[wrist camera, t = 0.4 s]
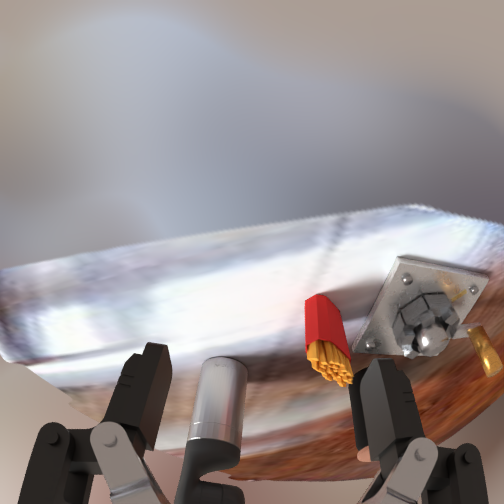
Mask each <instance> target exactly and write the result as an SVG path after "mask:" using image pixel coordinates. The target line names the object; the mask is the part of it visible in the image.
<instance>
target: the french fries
mask: <svg viewBox="0 0 504 504" xmlns="http://www.w3.org/2000/svg"><path fill="white" fill-rule="evenodd" d="M305 340H306V353H307V359H308V360H309V361H311V363H312V368H313V369H315V370H316V371H318V372H321V373H322V376H323V377H325V379H327V380H330V381H332V377H333V380H336V381H337V383H338V384H339V385H340V386H342V387H346V382H347V383H349V384H353V383H352V380H353V379H352V377H354V376H353V372H352V369H351V365H350V362H351V357H350V353H349V348H348V344H347V340H346V335H345V331H344V327H343V323H342V319H341V315H340V311H339V310H338V309H337V307H336V306H335V305H334V304H333V303H332V302H331V301H330V300H329V299H328V298H327V297H326V296H324V295H317V294H316V295H314V296H312V297H311V298H309V299H307V300H305Z"/></svg>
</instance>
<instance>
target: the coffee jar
mask: <svg viewBox="0 0 504 504" xmlns="http://www.w3.org/2000/svg"><path fill="white" fill-rule="evenodd" d="M367 369H368V367H367V368H365V369H363V370H361V371H359V372H358V373H356V374H355V375H354V377H352V379H353V380H352V383H353V384H349V394H350V401H351V408H352V416H353V423H354V431H355V440H356V447H357V449H358V450H359V452H358V454H357V457H358V460H360V461H364V462H371V460H370V453H369V445H368V438H367V432H366V425H365V419H364V412H363V406H362V401H361V395H360V384H361V380H362V378H363V376H364V375H365V373H366V371H367ZM372 462H374V461H372Z"/></svg>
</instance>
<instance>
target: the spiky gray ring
mask: <svg viewBox="0 0 504 504" xmlns="http://www.w3.org/2000/svg"><path fill="white" fill-rule="evenodd" d="M437 316H441V319H440V321H441V323H442V325H443V328H444V330H445V332H446V334H447V336H448V339H449V338H451V337H452V339H457V338H465V337H469V338H470V340H471V342H472V344H473V346H474V348H475V351H476V353H477V355H478V357H479V359H480V361H481V364H482V366H483V368H484V370H485V373H486V375H487V377H492V376H494V375H496V374H497V373H498V372H500V370H501V369H502V368H503V365H502V363H501V361H500V359H499V357H498V355H497V353H496V351H495V349H494V347H493V345H492V343H491V341H490V339H489V337H488V335H487V333H486V331H485V329H484V328H483V326H481V324H480V322H479V323H470V324H462V325H458V323H459V322H460V318H459V316H458V314H457V313H456V311H455V309H454V307H453V305H452V304H451V302H450V300H449V299H448V297H447V295H445V294H437V295H424V296H423V297H422V296H421V297H419V298H418V299H417V300H415V301H414V302H412V303H411V304H409V305H408V306H406V307H405V308H404V309H402V310H401V312H399V314H398V317H397V319H396V322H395V325H394V327H393V334H394V337H395V340H396V343H397V345H398V346H399V347H400V348H401V349H402V350H403V352H404V355H405V357H408V358H410V359H414V358H415V357H416V356H417V355H418V354H420V353H422V352H421V350H420V347H419V344H418V342H417V339H416V336H415V333H414V331H413V328H414V327H415V326H417V325H418V324H420V323H421V324H422V327H423V328H425V327H427V326H429V325H431V324H433V323H435V317H437ZM433 356H434V355H433ZM429 357H432V356H429Z"/></svg>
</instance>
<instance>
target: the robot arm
mask: <svg viewBox="0 0 504 504" xmlns="http://www.w3.org/2000/svg"><path fill="white" fill-rule="evenodd" d="M247 375H248V371H247V369H246V367H245V366H244V365H243V364H242V363H240V362H238V361H236V360H234V359H230V358H224V357H216V358H211V359H208V360H206V361H205V362H204V363H203V365H202V368H201V373H200V378H199V382H198V387H197V392H196V397H195V402H194V407H193V412H192V417H191V423H190V428H189V433H188V439H187V443H186V449H185V456H184V462H183V467H182V472H181V476H180V480H179V484H178V488H177V492H176V496H175V500H174V504H245V498H244V494H243V491H242V490H241V489H240V488H238V487H236V486H232V485H225V484H219V483H211V482H206V481H200V479H199V478H200V477H201V476H203V475H205V474H207V473H209V472H213V471H218V470H225V469H230V468H233V467H235V466H236V465H237V464H238V463H239V461H240V452H241V440H242V429H243V418H244V407H245V397H246V387H247ZM171 380H172V364H171V360H170V355H169V350H168V346H167V345H164V344H158V343H151V342H148V343H147V344H146V346H145V349H144V351H143V354H142V355H141V354H135V353H134V354H133V355H132V356H131V357H130V358H129V359H128V360H127V361H126V362H125V364H124V367H123V369H122V372H121V376H120V377H119V379H118V382H117V385H116V387H115V390H114V392H113V395H112V398H111V400H110V403H109V406H108V408H107V411H106V414H105V416H104V418H103V420H102V421H101V422H100V423H99V424H98V425H97V426H95V427H93V428H90V429H66V428H65V427H64V426H63V425H61V424H59V423H55V422H52V423H47V424H45V425H44V426H43V427H42V428H41V429H40V431H39V433H38V436H37V439H36V442H35V445H34V448H33V451H32V454H31V457H30V460H29V463H28V467H27V470H26V474H25V478H24V481H23V485H22V488H21V492H20V496H19V500H18V504H88V502H89V497H90V492H91V487H92V482H93V478H94V475H98V474H99V475H104V478H105V480H106V482H107V484H108V486H109V489H110V492H111V494H110V499H111V502H112V504H170V503H169V501H168V500H167V498H166V497H165V495H164V494H163V492H162V490H161V489H160V487H159V485H158V483H157V482H156V480H155V478H154V476H153V474H152V473H151V471H150V469H149V467H148V465H147V463H146V461H145V459H144V453H145V449H146V450H150V451H153V450H154V446H155V442H156V438H157V434H158V430H159V426H160V422H161V418H162V414H163V410H164V406H165V403H166V399H167V395H168V391H169V388H170V384H171ZM412 392H413V391H412V387H411V384H410V380H409V379H408V378H407V376H406V375H405V374H404V372H403V371H397V370H396V366H395V363H394V360H393V359H392V358H375V359H373V360H372V362H371V364H370V365H369V367H368V369H367V371H366V373H365V375H364V376H363V378H362V380H361V384H360V395H361V401H362V406H363V412H364V419H365V425H366V432H367V438H368V445H369V453H370V460H371V462H372V461H380V467H381V468H380V469H379V471H378V473H377V474H376V476H375V477H374V479H373V481H372V482H371V484H370V485H369V487H368V488H367V490H366V491H365V493H364V494H363V496H362V497H361V499H360V500H359V501H358V503H357V504H418V503H417V501H418V498H419V497H420V495H421V498H422V504H489V502H488V495H487V488H486V482H485V476H484V471H483V465H482V461H481V456H480V452H479V450H478V449H477V448H476V446H474V445H473V444H469V443H466V444H462V445H461V446H459V447H458V448H457V449H451V448H443V447H438V446H436V445H435V444H434V442H432V441H431V440H430V439H427V438H426V437H425V435H424V432H423V428H422V424H421V420H420V416H419V412H418V409H417V405H416V402H415V398H414V394H413V393H412Z"/></svg>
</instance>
